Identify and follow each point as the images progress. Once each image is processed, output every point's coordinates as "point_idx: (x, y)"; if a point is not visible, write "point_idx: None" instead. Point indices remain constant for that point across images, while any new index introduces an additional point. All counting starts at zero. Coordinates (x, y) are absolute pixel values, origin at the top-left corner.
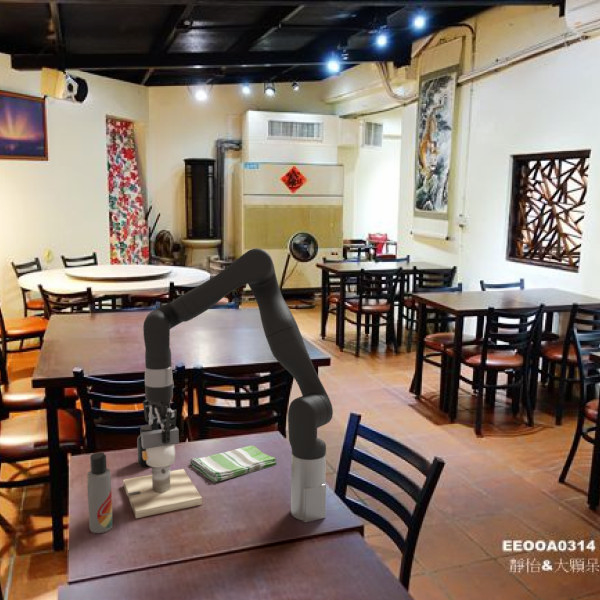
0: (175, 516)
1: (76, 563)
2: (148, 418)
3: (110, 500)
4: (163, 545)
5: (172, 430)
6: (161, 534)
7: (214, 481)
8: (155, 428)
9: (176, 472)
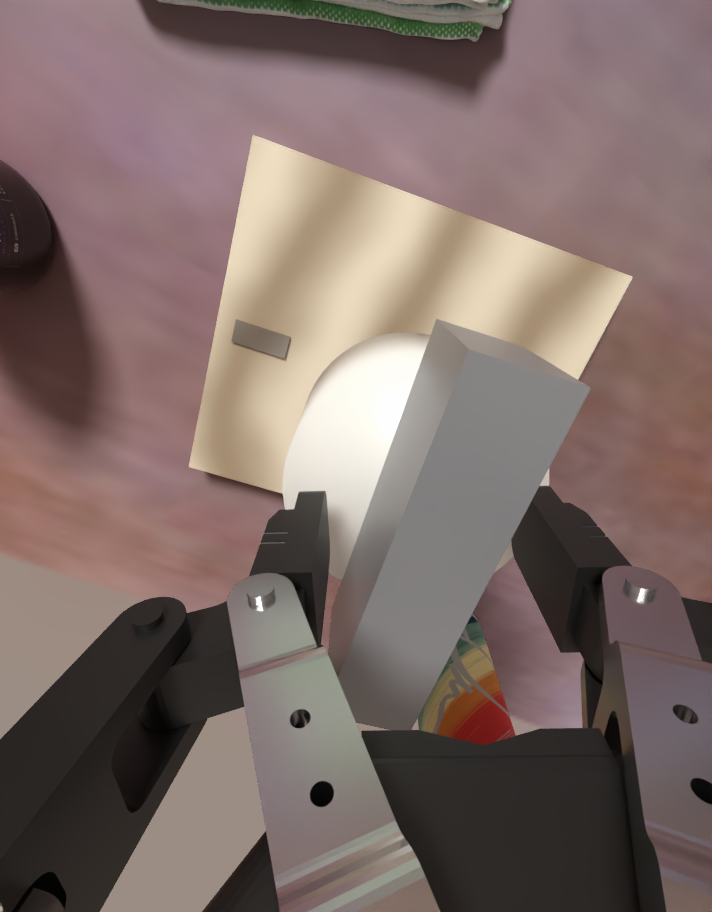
0: (590, 424)
1: (555, 725)
2: (197, 720)
3: (502, 703)
4: (701, 550)
5: (541, 466)
6: (643, 523)
7: (478, 32)
8: (318, 579)
9: (274, 206)
